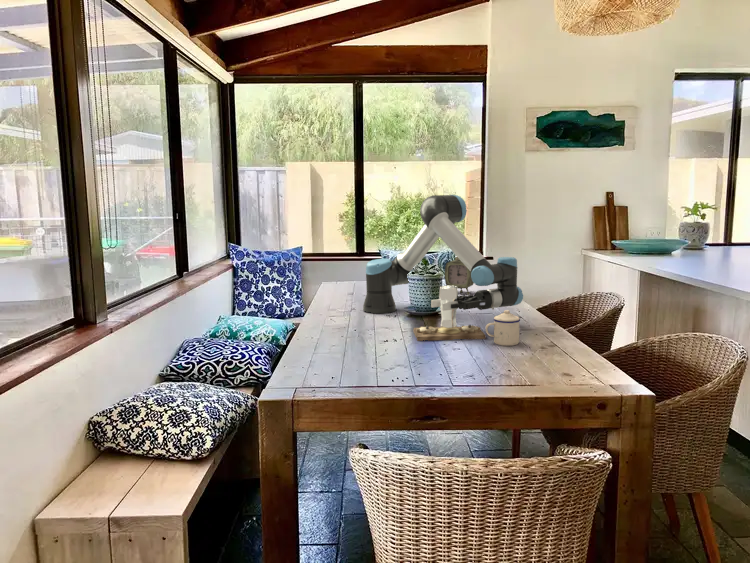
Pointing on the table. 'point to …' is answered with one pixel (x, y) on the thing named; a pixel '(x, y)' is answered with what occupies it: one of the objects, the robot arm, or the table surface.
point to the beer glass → (447, 296)
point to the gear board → (449, 333)
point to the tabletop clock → (458, 275)
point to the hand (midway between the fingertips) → (437, 305)
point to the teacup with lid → (505, 329)
